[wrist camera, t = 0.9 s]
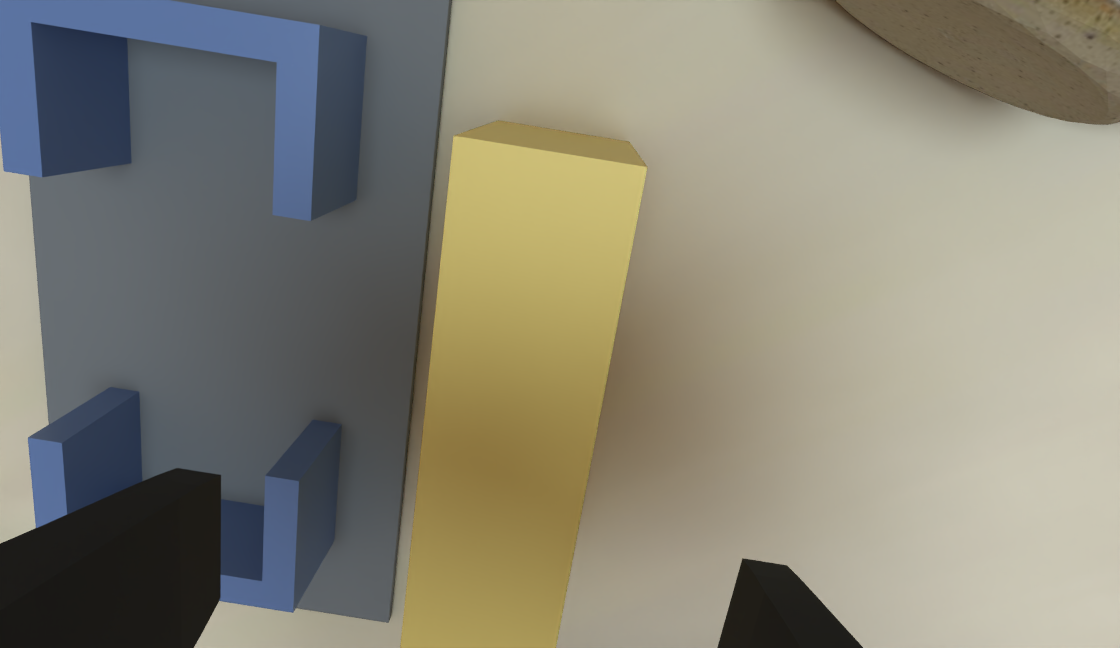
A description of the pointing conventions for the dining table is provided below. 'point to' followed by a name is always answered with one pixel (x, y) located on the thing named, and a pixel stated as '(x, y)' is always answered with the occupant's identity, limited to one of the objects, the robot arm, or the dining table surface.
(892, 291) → the dining table surface
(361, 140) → the mat
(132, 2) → the end cap
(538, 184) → the slat
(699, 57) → the dining table surface
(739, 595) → the robot arm
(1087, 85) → the ceramic mug
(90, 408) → the end cap
